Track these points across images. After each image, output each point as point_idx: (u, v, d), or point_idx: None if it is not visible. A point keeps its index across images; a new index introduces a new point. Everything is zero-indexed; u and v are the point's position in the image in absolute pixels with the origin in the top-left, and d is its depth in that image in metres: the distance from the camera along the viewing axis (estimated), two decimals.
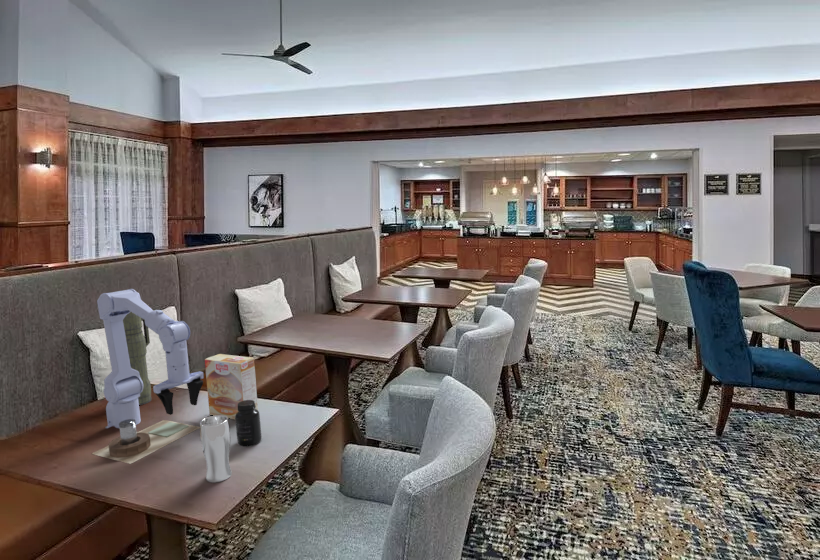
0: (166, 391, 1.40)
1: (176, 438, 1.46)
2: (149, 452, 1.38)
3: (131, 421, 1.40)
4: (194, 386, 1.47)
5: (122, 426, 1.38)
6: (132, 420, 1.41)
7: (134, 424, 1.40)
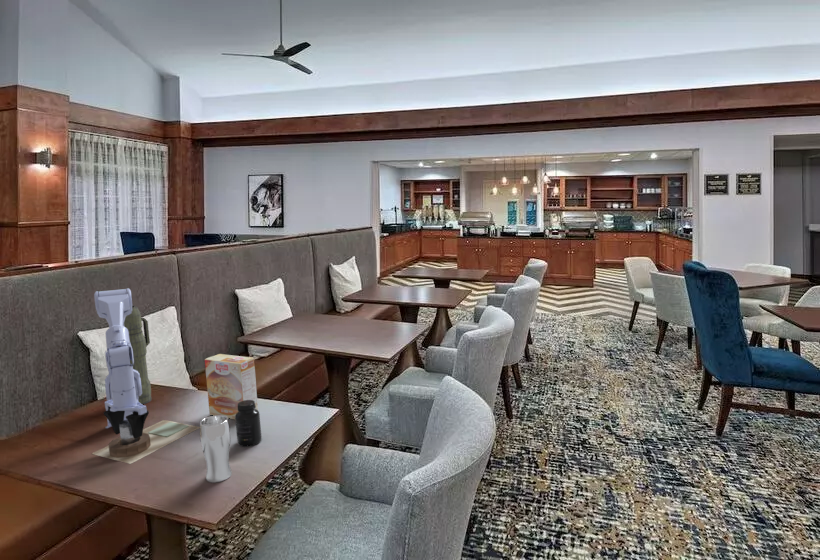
0: None
1: (176, 438, 1.46)
2: (149, 452, 1.38)
3: None
4: None
5: (122, 426, 1.38)
6: None
7: None
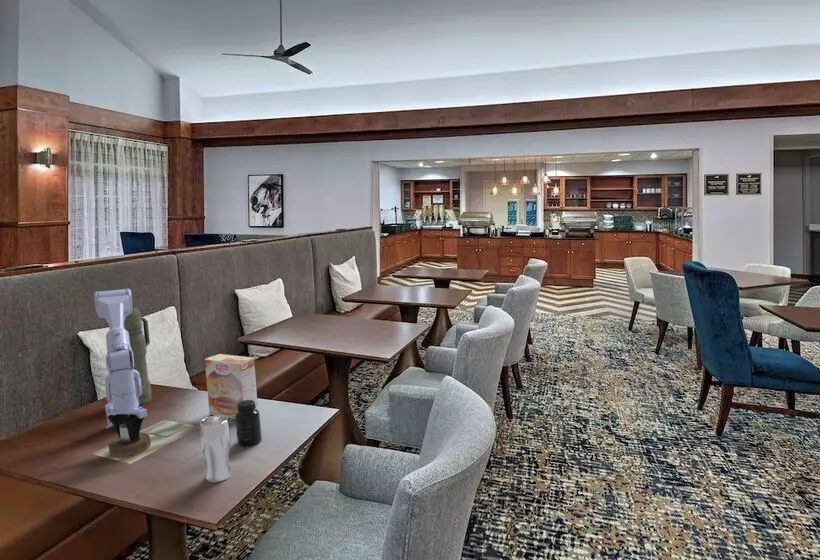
0: None
1: (176, 438, 1.46)
2: (149, 452, 1.38)
3: None
4: None
5: (122, 426, 1.38)
6: None
7: None
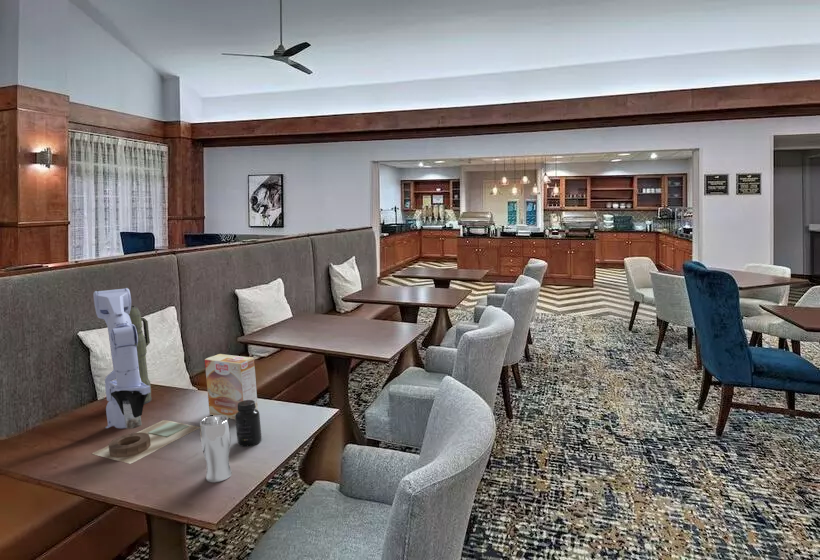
0: (118, 390, 1.41)
1: (176, 438, 1.46)
2: (149, 452, 1.38)
3: None
4: None
5: (126, 402, 1.39)
6: None
7: None
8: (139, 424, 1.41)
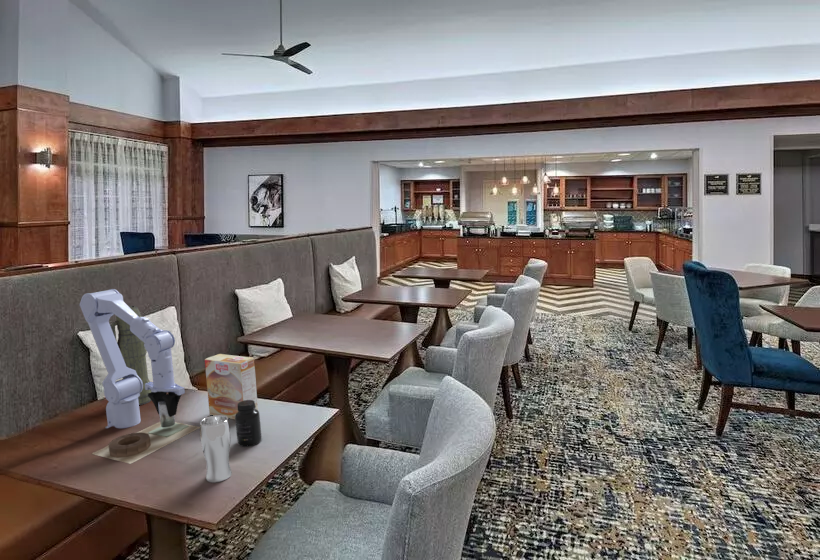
0: (154, 391, 1.51)
1: (176, 438, 1.46)
2: (149, 452, 1.38)
3: None
4: None
5: (161, 403, 1.49)
6: None
7: None
8: (173, 423, 1.52)
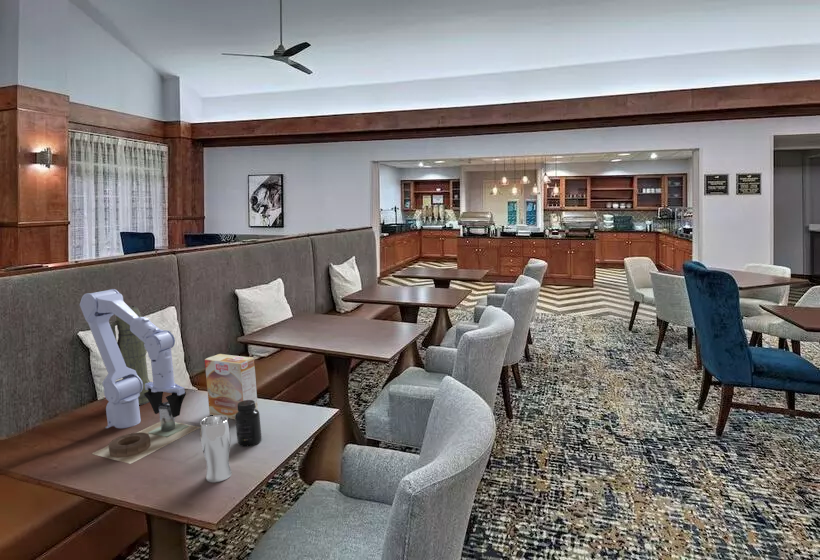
0: (151, 391, 1.52)
1: (176, 438, 1.46)
2: (149, 452, 1.38)
3: None
4: None
5: (162, 407, 1.49)
6: None
7: None
8: (174, 427, 1.52)
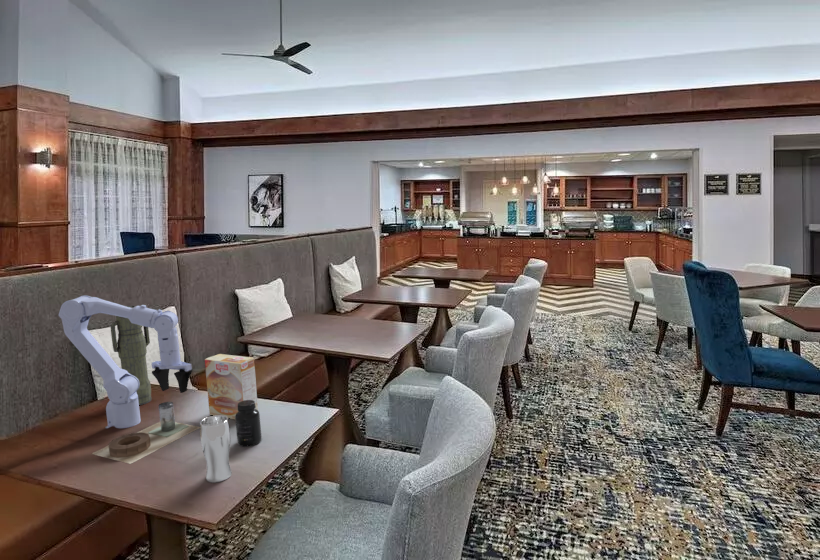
0: (158, 369, 1.59)
1: (176, 438, 1.46)
2: (149, 452, 1.38)
3: (169, 403, 1.52)
4: None
5: (162, 407, 1.49)
6: (170, 402, 1.52)
7: (172, 406, 1.51)
8: (174, 427, 1.52)
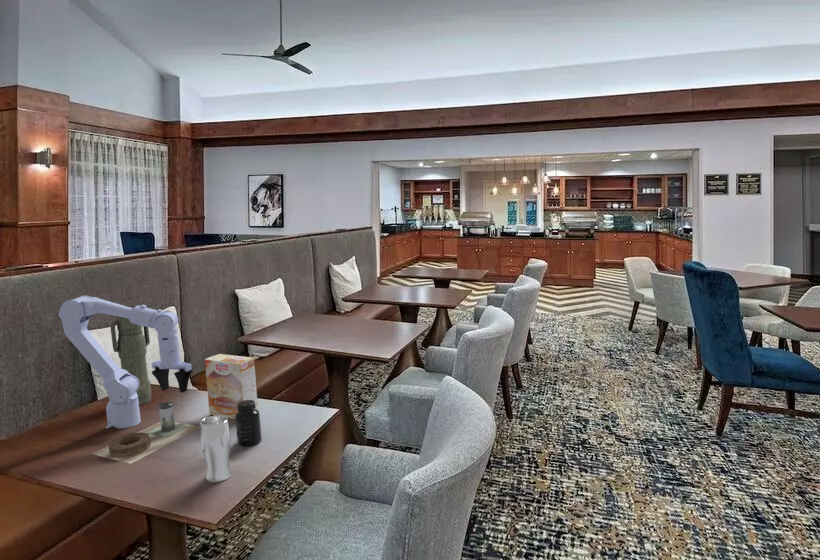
0: (158, 369, 1.59)
1: (176, 438, 1.46)
2: (149, 452, 1.38)
3: (169, 403, 1.52)
4: None
5: (162, 407, 1.49)
6: (170, 402, 1.52)
7: (172, 406, 1.51)
8: (174, 427, 1.52)
